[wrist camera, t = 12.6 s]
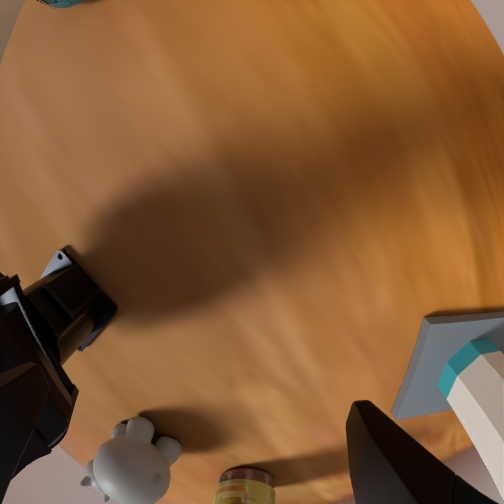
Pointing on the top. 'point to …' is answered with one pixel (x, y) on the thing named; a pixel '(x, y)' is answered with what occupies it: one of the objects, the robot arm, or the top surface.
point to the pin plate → (441, 358)
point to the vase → (479, 400)
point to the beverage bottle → (61, 3)
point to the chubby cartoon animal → (132, 464)
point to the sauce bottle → (245, 487)
